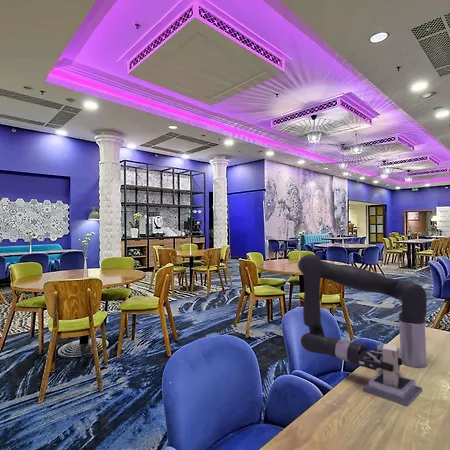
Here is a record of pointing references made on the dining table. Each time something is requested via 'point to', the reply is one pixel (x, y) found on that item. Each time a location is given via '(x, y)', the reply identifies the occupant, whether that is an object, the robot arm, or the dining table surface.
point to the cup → (382, 350)
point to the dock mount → (394, 389)
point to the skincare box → (392, 358)
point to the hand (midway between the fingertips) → (397, 365)
